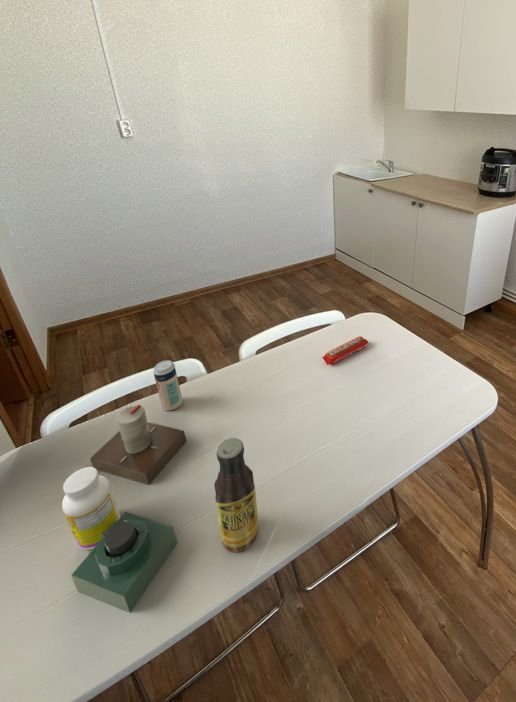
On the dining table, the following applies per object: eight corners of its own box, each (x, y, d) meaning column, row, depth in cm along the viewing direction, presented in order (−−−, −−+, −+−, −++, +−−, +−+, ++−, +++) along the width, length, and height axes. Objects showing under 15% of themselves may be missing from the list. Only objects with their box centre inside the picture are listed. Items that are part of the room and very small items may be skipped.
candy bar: (328, 368, 108) (328, 359, 107) (321, 362, 111) (320, 353, 110) (370, 346, 118) (370, 337, 117) (362, 340, 121) (362, 332, 120)
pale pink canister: (169, 397, 98) (160, 358, 94) (186, 398, 98) (178, 359, 94) (157, 411, 94) (147, 370, 90) (175, 412, 93) (166, 372, 89)
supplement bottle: (82, 521, 69) (62, 469, 64) (124, 507, 71) (107, 455, 67) (72, 559, 63) (49, 504, 59) (118, 542, 66) (100, 488, 61)
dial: (139, 456, 78) (130, 424, 75) (119, 450, 80) (110, 419, 77) (157, 436, 83) (149, 406, 80) (138, 432, 84) (130, 402, 81)
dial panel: (93, 469, 79) (89, 457, 78) (135, 428, 89) (132, 417, 88) (149, 485, 75) (145, 473, 74) (186, 441, 85) (184, 430, 84)
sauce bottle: (223, 562, 62) (205, 473, 56) (220, 526, 68) (203, 440, 61) (264, 544, 65) (251, 457, 58) (258, 511, 70) (245, 427, 63)
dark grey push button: (101, 552, 59) (97, 544, 58) (122, 527, 62) (119, 518, 62) (122, 560, 58) (118, 551, 57) (142, 533, 61) (140, 524, 61)
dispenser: (77, 592, 59) (66, 566, 57) (130, 527, 68) (122, 503, 66) (130, 613, 56) (120, 587, 54) (177, 542, 65) (171, 518, 63)
